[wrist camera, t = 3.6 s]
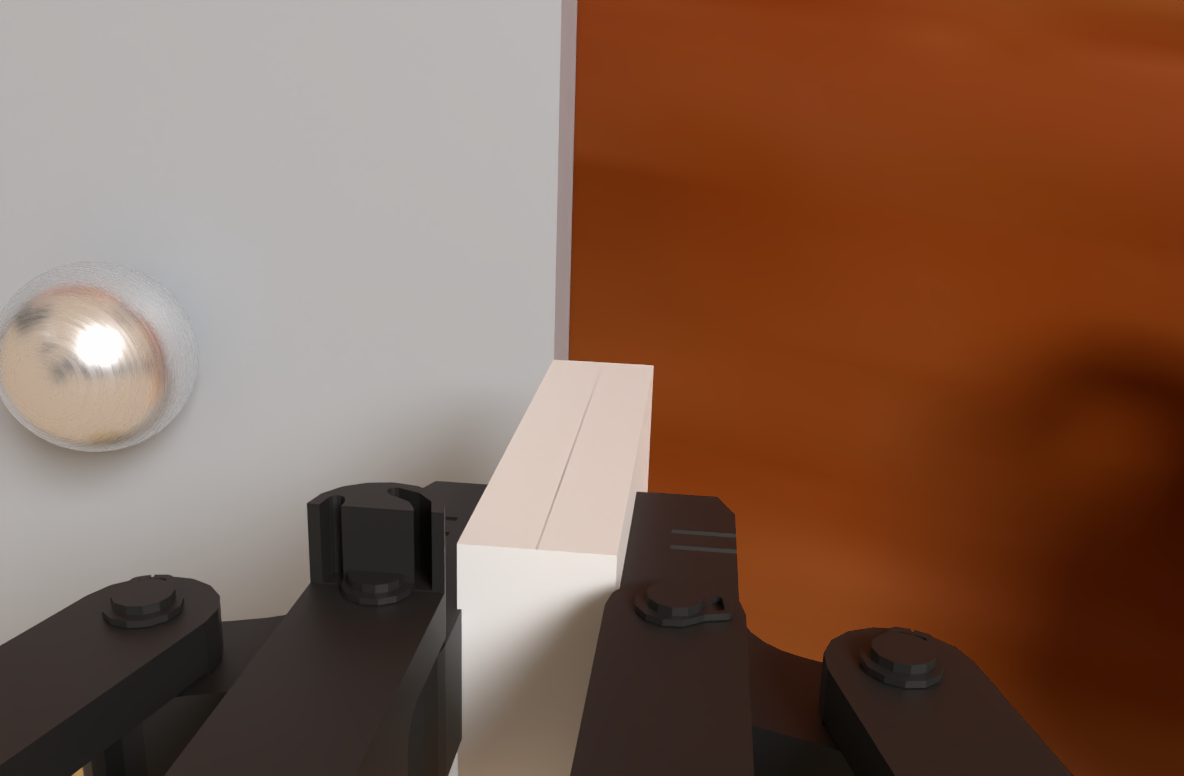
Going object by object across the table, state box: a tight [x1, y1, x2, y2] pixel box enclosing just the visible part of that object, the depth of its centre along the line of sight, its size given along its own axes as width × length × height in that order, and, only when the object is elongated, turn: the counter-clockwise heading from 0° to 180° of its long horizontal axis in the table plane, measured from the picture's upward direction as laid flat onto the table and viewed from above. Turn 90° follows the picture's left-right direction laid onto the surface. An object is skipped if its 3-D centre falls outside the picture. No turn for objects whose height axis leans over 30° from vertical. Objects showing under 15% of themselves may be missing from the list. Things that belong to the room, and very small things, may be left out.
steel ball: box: [0, 261, 198, 452], centre depth 20 cm, size 3×3×3 cm
